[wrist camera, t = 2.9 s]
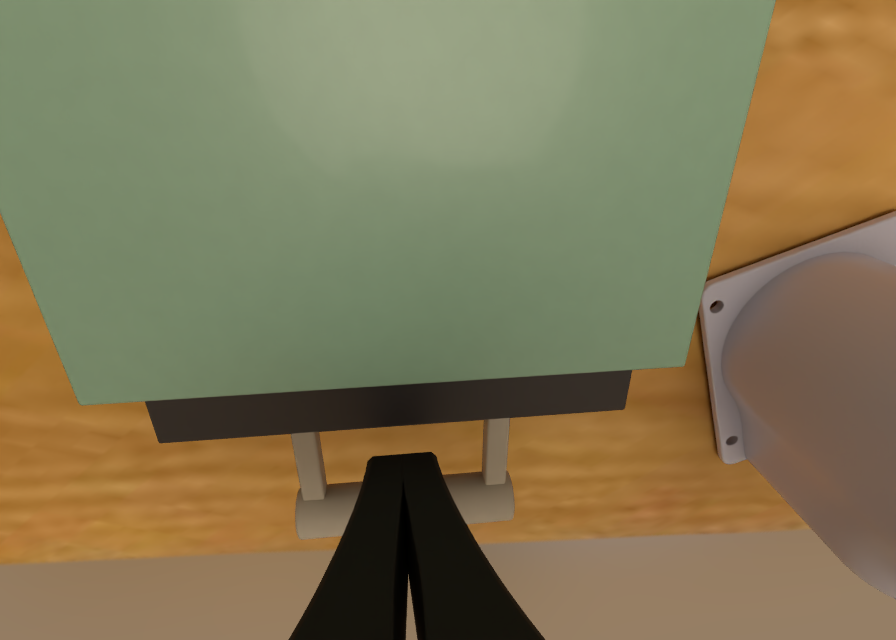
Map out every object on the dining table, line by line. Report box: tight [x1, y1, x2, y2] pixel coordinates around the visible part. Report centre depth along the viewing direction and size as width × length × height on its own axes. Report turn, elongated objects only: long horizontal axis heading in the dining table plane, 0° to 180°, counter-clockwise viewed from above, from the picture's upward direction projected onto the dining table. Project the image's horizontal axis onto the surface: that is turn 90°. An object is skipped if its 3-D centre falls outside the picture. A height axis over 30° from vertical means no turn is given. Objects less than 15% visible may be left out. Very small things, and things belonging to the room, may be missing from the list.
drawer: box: [145, 370, 632, 540], centre depth 12 cm, size 16×10×6 cm, turn 0°
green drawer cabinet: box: [0, 0, 776, 405], centre depth 10 cm, size 13×12×8 cm
